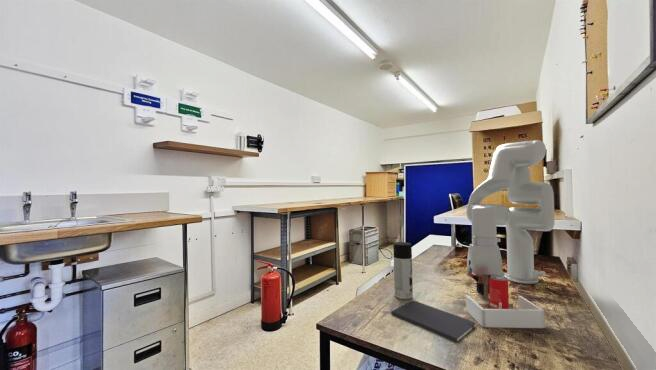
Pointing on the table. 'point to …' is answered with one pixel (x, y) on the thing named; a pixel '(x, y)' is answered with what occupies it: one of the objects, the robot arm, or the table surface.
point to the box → (508, 315)
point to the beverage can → (498, 292)
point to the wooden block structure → (486, 295)
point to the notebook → (434, 320)
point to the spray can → (403, 270)
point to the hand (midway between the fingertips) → (485, 293)
